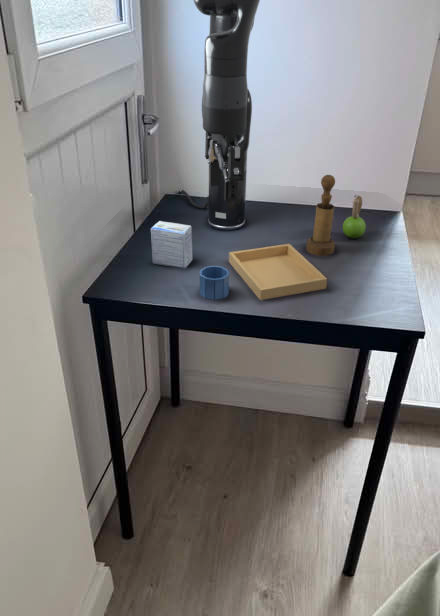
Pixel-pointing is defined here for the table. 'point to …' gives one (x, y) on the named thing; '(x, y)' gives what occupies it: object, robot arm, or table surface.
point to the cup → (214, 282)
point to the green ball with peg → (354, 221)
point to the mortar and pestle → (323, 222)
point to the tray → (276, 271)
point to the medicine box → (171, 244)
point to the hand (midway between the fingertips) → (222, 192)
